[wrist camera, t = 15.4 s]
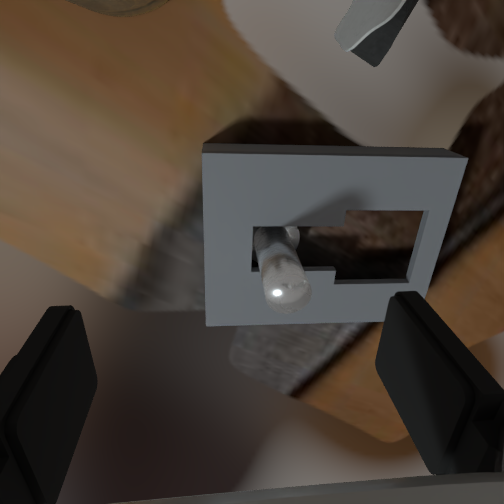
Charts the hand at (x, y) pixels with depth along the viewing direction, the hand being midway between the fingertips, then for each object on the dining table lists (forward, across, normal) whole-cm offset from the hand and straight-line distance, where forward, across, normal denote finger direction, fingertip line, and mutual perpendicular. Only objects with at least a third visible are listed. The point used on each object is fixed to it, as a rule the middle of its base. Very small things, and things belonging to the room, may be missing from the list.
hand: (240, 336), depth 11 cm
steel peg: (+30, -5, +10) cm, 32 cm away
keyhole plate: (+30, -11, +10) cm, 33 cm away
